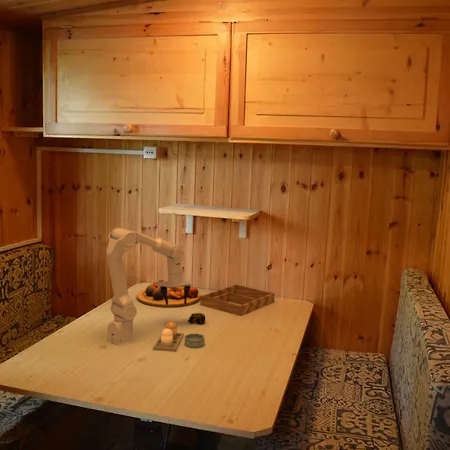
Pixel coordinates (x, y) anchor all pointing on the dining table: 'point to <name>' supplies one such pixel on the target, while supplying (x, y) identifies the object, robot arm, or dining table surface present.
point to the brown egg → (172, 329)
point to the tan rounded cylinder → (167, 338)
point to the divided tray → (173, 349)
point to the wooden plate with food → (175, 296)
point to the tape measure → (197, 318)
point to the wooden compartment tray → (237, 299)
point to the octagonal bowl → (194, 340)
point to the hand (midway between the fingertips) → (176, 303)
